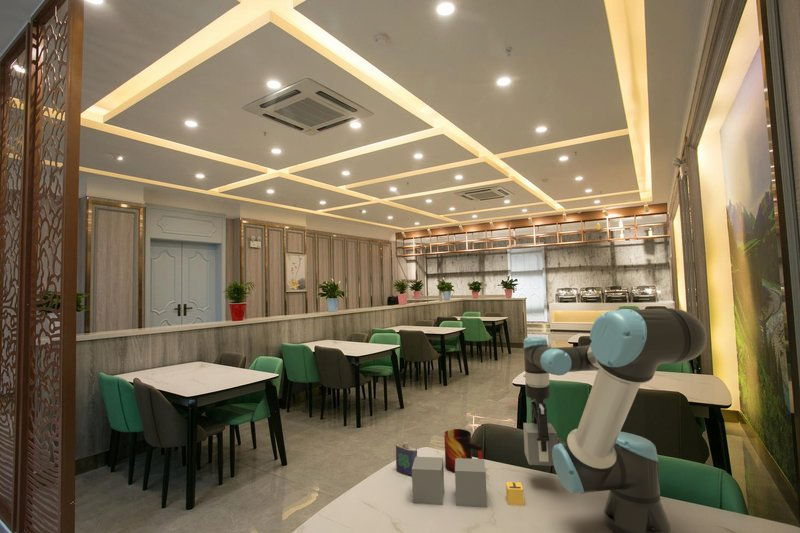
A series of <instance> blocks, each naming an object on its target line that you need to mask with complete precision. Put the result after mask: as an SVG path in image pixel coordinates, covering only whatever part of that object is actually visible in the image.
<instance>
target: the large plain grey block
mask: <svg viewBox="0 0 800 533" xmlns="http://www.w3.org/2000/svg"><path fill="white" fill-rule="evenodd" d="M444 472H445V471H444V457H435V456H434V457H433V456H431V457H430V456H417V457H415V460H414V463H413V466H412V476H411V484H412V485H411V486H412V489H411V490H412V504H424V505H425V504H426V505H441V506H443V505H444V497H445V496H444V493H445V480H444V479H445V478H444V476H445V475H444Z"/></svg>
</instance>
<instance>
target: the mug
mask: <svg viewBox="0 0 800 533" xmlns="http://www.w3.org/2000/svg"><path fill="white" fill-rule="evenodd" d="M443 436H444V463H445V466H444V467H445V469H446V470H447V472H450V473H453V474H455V460H456V458H465V459H473V455H472V454H473V453H472V452H473V451H472V450H476V451H477V459H483V449H482V448H483V447H482V445H481V444H477V443H475V442H472V434H471V431H469V430H467V429H463V428H452V429H448V430H446V431H444V433H443Z"/></svg>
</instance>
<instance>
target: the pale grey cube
mask: <svg viewBox="0 0 800 533" xmlns="http://www.w3.org/2000/svg"><path fill="white" fill-rule="evenodd" d="M522 423H523V424H522V425H523V426H522V427H523V446H524V447H523V448H524V455H525V458H526V461H527V463H528V465H529V466H551V467H552V466H553V467H554V463H553V458H552V450H553V447H554V445H556V444H559V442H558V433H557V430H555V428H554V426H553V425H552V423H547V425H548V435H549V441H548V459H549V462H543V461H539V446H538V441H537V438H539V434H538V426H537V423H531V422H522ZM543 437H545V436H543Z"/></svg>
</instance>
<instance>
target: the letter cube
mask: <svg viewBox="0 0 800 533" xmlns="http://www.w3.org/2000/svg"><path fill="white" fill-rule="evenodd" d="M523 487H524V486H523V484H522V482H521V481H519V482H518V481H517V482H516V481H506V482H505V488H506V490H505V491H506V500H507V504H508V505H510V506H511V505H513V506H525V496H524V493H525V492H524V488H523Z"/></svg>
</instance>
